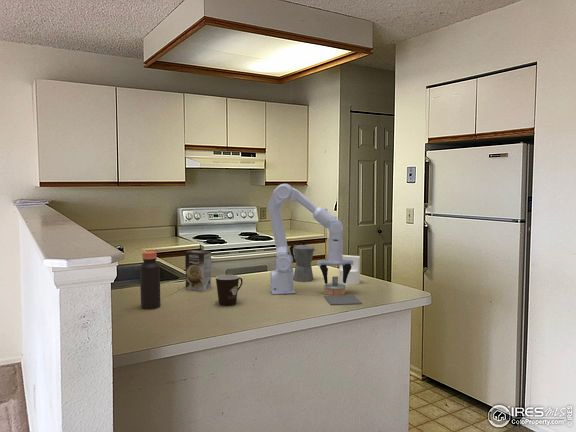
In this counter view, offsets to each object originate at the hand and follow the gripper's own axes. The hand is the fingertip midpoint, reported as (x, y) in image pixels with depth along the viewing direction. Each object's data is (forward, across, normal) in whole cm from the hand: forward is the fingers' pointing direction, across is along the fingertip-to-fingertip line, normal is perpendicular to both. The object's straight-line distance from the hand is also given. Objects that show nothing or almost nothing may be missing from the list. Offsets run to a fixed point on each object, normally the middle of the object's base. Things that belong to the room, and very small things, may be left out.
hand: (335, 283), depth 186 cm
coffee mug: (+4, -42, -9) cm, 43 cm away
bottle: (+4, -71, -10) cm, 72 cm away
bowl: (+4, 0, 0) cm, 4 cm away
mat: (+4, 0, -11) cm, 12 cm away
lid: (+2, 0, 0) cm, 2 cm away
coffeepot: (+4, -9, +26) cm, 28 cm away
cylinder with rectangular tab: (+4, +11, +17) cm, 21 cm away
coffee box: (+4, -55, +14) cm, 57 cm away
